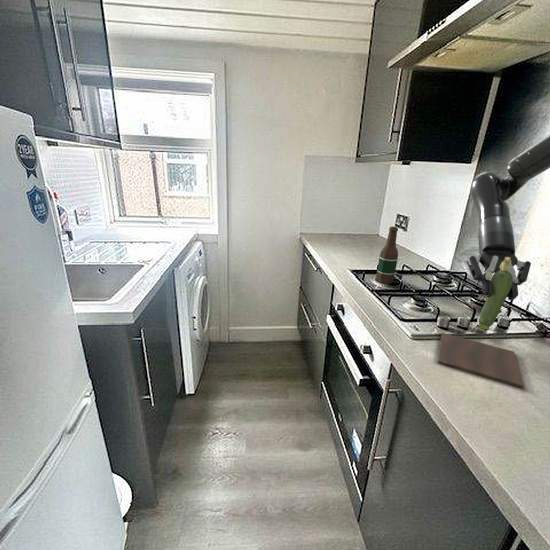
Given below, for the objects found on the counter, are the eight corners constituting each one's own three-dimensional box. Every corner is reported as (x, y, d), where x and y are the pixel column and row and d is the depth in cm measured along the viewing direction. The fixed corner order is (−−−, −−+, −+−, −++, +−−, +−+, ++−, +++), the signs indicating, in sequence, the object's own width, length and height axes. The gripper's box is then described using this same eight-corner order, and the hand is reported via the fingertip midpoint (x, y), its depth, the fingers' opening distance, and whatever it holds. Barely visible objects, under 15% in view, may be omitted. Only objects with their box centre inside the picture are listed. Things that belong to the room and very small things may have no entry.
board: (513, 353, 84) (513, 351, 84) (522, 388, 71) (523, 385, 71) (441, 334, 92) (441, 332, 92) (438, 362, 80) (438, 360, 79)
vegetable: (479, 322, 82) (502, 252, 74) (498, 329, 79) (523, 256, 71) (473, 328, 79) (496, 255, 72) (492, 335, 76) (518, 260, 69)
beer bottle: (371, 280, 133) (380, 226, 124) (380, 276, 138) (389, 224, 129) (388, 285, 128) (398, 230, 119) (397, 281, 133) (407, 227, 124)
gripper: (471, 227, 78) (474, 288, 72) (535, 232, 75) (544, 296, 68) (460, 242, 85) (462, 298, 78) (518, 247, 81) (525, 306, 75)
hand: (500, 297), depth 73 cm, fingers closed on vegetable, 4 cm apart
